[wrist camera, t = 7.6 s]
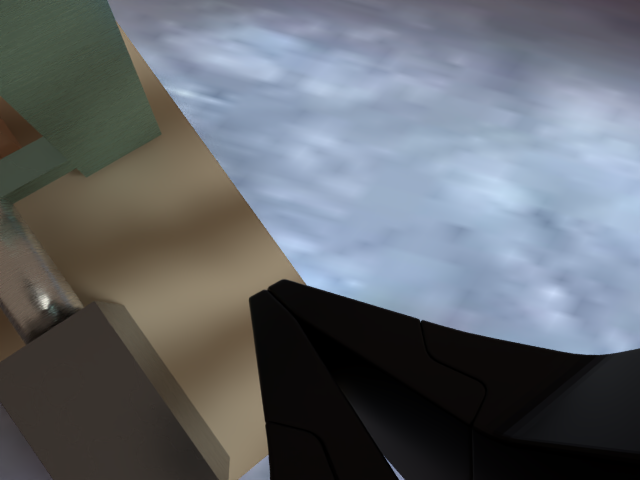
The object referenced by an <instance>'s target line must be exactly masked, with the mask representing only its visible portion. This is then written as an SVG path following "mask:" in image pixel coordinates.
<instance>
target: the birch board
mask: <svg viewBox="0 0 640 480" xmlns="http://www.w3.org/2000/svg"><path fill="white" fill-rule="evenodd" d="M115 21H116V20H115ZM116 23H117V22H116ZM117 26H118V28H119V30H120V33H121V35H122V38H123V40H124V43H125V45H126V48H127V50H128V53H129V55H130V57H131V60H132V62H133V65H134V67H135V70H136V72H137V75H138V77H139V79H140V82H141V84H142V87H143V89H144V92H145V94H146V97H147V99H148V102H149V104H150V106H151V109H152V111H153V114H154V116H155V119H156V121H157V124H158V126H159V129H160V131H161V133H162V135H160V136H158V137H156V138H155V139H153V140H151V141H149V142H148V143H146V144H144V145H142V146H141V147H139V148H137V149H135V150H134V151H132V152H130V153H128V154H127V155H125V156H123V157H121V158H120V159H118V160H116V161H114V162H113V163H111V164H109V165H107V166H106V167H104V168H102V169H101V170H99V171H97V172H95V173H94V174H92V175H90V176H88V177H87V178H86V177H85V176H84V175H83V174H82V173H81V172H80V171H79V170H78V169H77V168H76V169H74V170H73V171H71V172H69V173H67V174H66V175H64V176H62V177H60V178H58V179H57V180H55V181H53V182H51V183H50V184H48V185H46V186H44V187H42V188H41V189H39V190H37V191H35V192H34V193H32V194H30V195H28V196H26V197H25V198H23V199H21V200H19V201H18V202H16V203H14V206H15V207H16V209H17V210H18V212H19V213H20V215H21V216H22V217H23V219H24V220H25V222H26V223H27V225H28V226H29V227H30V229H31V230H32V232H33V233H34V235H35V236H36V238H37V239H38V240H39V242H40V243H41V245H42V246H43V248H44V249H45V251H46V252H47V253H48V255H49V256H50V258H51V259H52V261H53V262H54V263H55V265H56V266H57V268H58V269H59V271H60V272H61V274H62V275H63V276H64V278H65V279H66V281H67V282H68V284H69V285H70V287H71V288H72V289H73V291H74V292H75V294H76V295H77V297H78V298H79V299H80V301H81V302H82V304H83V305H84V307H86V306H87V305H89V304H90V303H92V302H93V301H99V302H106V303H113V304H120V305H124V306H125V308H126V309H127V311H128V312H129V313H130V315H131V316H132V318H133V319H134V321H135V322H136V323H137V325H138V326H139V328H140V329H141V331H142V332H143V333H144V335H145V336H146V338H147V339H148V341H149V342H150V343H151V345H152V346H153V348H154V349H155V351H156V352H157V353H158V355H159V356H160V358H161V359H162V361H163V362H164V364H165V365H166V366H167V368H168V369H169V371H170V372H171V374H172V375H173V376H174V378H175V379H176V381H177V382H178V384H179V385H180V386H181V388H182V389H183V391H184V392H185V394H186V395H187V396H188V398H189V399H190V401H191V402H192V404H193V405H194V406H195V408H196V409H197V411H198V412H199V414H200V415H201V416H202V418H203V419H204V421H205V422H206V424H207V425H208V426H209V428H210V429H211V431H212V432H213V434H214V435H215V436H216V438H217V439H218V441H219V442H220V444H221V445H222V446H223V448H224V449H225V451H226V452H227V454H228V455H229V456H230V464H229V480H238V479H239V478H240V477H242V476H243V475H244V474H245V473H246V472H248V471H249V470H250V469H251V468H252V467H254V466H255V465H256V464H257V463H258V462H260V461H261V460H262V459H263V458H264V457H266V456H267V455H268V444H267V436H266V429H265V424H266V423H265V419H264V412H263V404H262V397H261V389H260V382H259V374H258V367H257V360H256V352H255V345H254V337H253V330H252V322H251V315H250V307H249V298H250V297H251V296H252V295H254V294H256V293H258V292H260V291H261V290H264V289H265V290H267V289H268V287H269V286H270V285H272V284H274V283H276V282H278V281H280V280H282V279H287V280H290V281H294V282H297V283H300V284H304V285H306V284H305V282H304V281H303V280H302V278H301V277H300V275H299V274H298V273H297V271H296V270H295V269H294V267H293V266H292V264H291V263H290V262H289V260H288V259H287V257H286V256H285V255H284V253H283V252H282V251H281V249H280V248H279V246H278V245H277V244H276V242H275V241H274V239H273V238H272V237H271V235H270V234H269V232H268V231H267V230H266V228H265V227H264V226H263V224H262V223H261V221H260V220H259V219H258V217H257V216H256V214H255V213H254V212H253V210H252V209H251V208H250V206H249V205H248V203H247V202H246V201H245V199H244V198H243V196H242V195H241V194H240V192H239V191H238V190H237V188H236V187H235V185H234V184H233V183H232V181H231V180H230V178H229V177H228V176H227V174H226V173H225V171H224V170H223V169H222V167H221V166H220V165H219V163H218V162H217V160H216V159H215V158H214V156H213V155H212V153H211V152H210V151H209V149H208V148H207V147H206V145H205V144H204V142H203V141H202V140H201V138H200V137H199V135H198V134H197V133H196V131H195V130H194V128H193V127H192V126H191V124H190V123H189V122H188V120H187V119H186V117H185V116H184V115H183V113H182V112H181V110H180V109H179V108H178V106H177V105H176V104H175V102H174V101H173V99H172V98H171V97H170V95H169V94H168V92H167V91H166V90H165V88H164V87H163V86H162V84H161V83H160V81H159V80H158V79H157V77H156V76H155V74H154V73H153V72H152V70H151V69H150V67H149V66H148V65H147V63H146V62H145V61H144V59H143V58H142V56H141V55H140V54H139V52H138V51H137V49H136V48H135V47H134V45H133V44H132V43H131V41H130V40H129V38H128V37H127V36H126V34H125V33H124V31H123V30H122V29H121V27H120V26H119V25H118V23H117ZM0 117H1V118H2V120H3V121H4V123H5V124H6V125H7V127H8V128H9V130H10V131H11V133H12V134H13V135H14V137H15V138H16V140H17V141H18V143H19V144H20V145H21V147H22V148H23V147H24V146H26V145H28V144H30V143H32V142H34V141H36V140H38V139H39V138H41V137H43V136H42V135H41V134H40V133H39V132H38V131H37V130H36V129H35V128H34V127H33V126H32V125H31V124H29V123H28V122H27V121H26V120H25V119H24V118H23V117H22V116H21V115H20V114H19V113H18V112H17V111H16V110H15V109H14V108H13V107H12V106H11V105H10V104H8V103H7V102H6V101H5V100H4V99H3V98H2V97H1V96H0ZM24 346H26V345H25V343H24V342H23V340H22V339H21V337H20V336H19V334H18V333H17V332H16V330H15V329H14V327H13V326H12V324H11V323H10V321H9V320H8V318H7V317H6V315H5V314H4V313H3V311H2V310H1V308H0V362H1V361H3V360H4V359H6V358H7V357H9V356H10V355H12V354H13V353H15V352H16V351H18V350H19V349H21V348H23V347H24Z"/></svg>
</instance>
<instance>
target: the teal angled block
mask: <svg viewBox="0 0 640 480" xmlns="http://www.w3.org/2000/svg"><path fill="white" fill-rule="evenodd" d="M0 96H1V97H2V98H3V99H4V100H5V101H6V102H7V103H8V104H10V105H11V106H12V107H13V108H14V109H15V110H16V111H17V112H18V113H19V114H20V115H21V116H22V117H23V118H24V119H25V120H26V121H27V122H28V123H29V124H31V125H32V126H33V127H34V128H35V129H36V130H37V131H38V132H39V133H40V134H41V135H42V136H43V137H41V138H39V139H38V140H36V141H34V142H32V143H30V144H28V145H26V146H24V147H23V148H21V149H19V150H17V151H15V152H13V153H11V154H9V155H8V156H6V157H4V158H2V159H0V308H1V310H2V311H3V313H4V314H5V315H6V317H7V318H8V320H9V321H10V323H11V324H12V326H13V327H14V329H15V330H16V332H17V333H18V334H19V336H20V337H21V339H22V340H23V342H24V343H25V345H27V344H29V343H30V342H32V341H33V340H35V339H36V338H38V337H39V336H41V335H43V334H44V333H46V332H47V331H49V330H50V329H52V328H53V327H55V326H56V325H58V324H59V323H61V322H62V321H64V320H66V319H67V318H69V317H70V316H72V315H73V314H75V313H76V312H78V311H79V310H81V309H82V308H84V305H83V304H82V302H81V301H80V299H79V298H78V297H77V295H76V294H75V292H74V291H73V289H72V288H71V287H70V285H69V284H68V282H67V281H66V279H65V278H64V276H63V275H62V274H61V272H60V271H59V269H58V268H57V266H56V265H55V263H54V262H53V261H52V259H51V258H50V256H49V255H48V253H47V252H46V251H45V249H44V248H43V246H42V245H41V243H40V242H39V240H38V239H37V238H36V236H35V235H34V233H33V232H32V230H31V229H30V227H29V226H28V225H27V223H26V222H25V220H24V219H23V217H22V216H21V215H20V213H19V212H18V210H17V209H16V207H15V206H14V203H16V202H18V201H19V200H21V199H23V198H25V197H26V196H28V195H30V194H32V193H34V192H35V191H37V190H39V189H41V188H42V187H44V186H46V185H48V184H50V183H51V182H53V181H55V180H57V179H58V178H60V177H62V176H64V175H66V174H67V173H69V172H71V171H73V170H74V169H76V168H77V169H78V170H79V171H80V172H81V173H82V174H83V175H84V176H85V177H86V178H87V177H88V176H90V175H92V174H94V173H95V172H97V171H99V170H101V169H102V168H104V167H106V166H107V165H109V164H111V163H113V162H114V161H116V160H118V159H120V158H121V157H123V156H125V155H127V154H128V153H130V152H132V151H134V150H135V149H137V148H139V147H141V146H142V145H144V144H146V143H148V142H149V141H151V140H153V139H155V138H156V137H158V136H160V135H162V133H161V131H160V129H159V126H158V124H157V121H156V119H155V116H154V114H153V111H152V109H151V106H150V104H149V102H148V99H147V97H146V94H145V92H144V89H143V87H142V84H141V82H140V79H139V77H138V75H137V72H136V70H135V67H134V65H133V62H132V60H131V57H130V55H129V53H128V50H127V48H126V45H125V43H124V40H123V38H122V35H121V33H120V30H119V28H118V26H117V23H116V21H115V18H114V16H113V13H112V11H111V8H110V6H109V3H108V1H107V0H0Z"/></svg>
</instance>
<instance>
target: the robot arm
mask: <svg viewBox="0 0 640 480" xmlns="http://www.w3.org/2000/svg"><path fill="white" fill-rule="evenodd" d="M249 307H250V315H251V322H252V330H253V337H254V345H255V352H256V360H257V367H258V374H259V382H260V389H261V397H262V404H263V412H264V419H265V423H266V424H265V429H266V436H267V444H268V455H269V465H270V480H399V479H398V477H397V476H396V474H395V473H394V471H393V470H392V468H391V466H390V465H389V463H388V462H387V460H388V461H389V462H390V463H391V464H392V465H393V467H394V468H395V469H396V470H397V471H398V472H399V473H400V475H401V476H402V477H403V478H404V479H405V480H640V349H634V350H629V351H624V352H619V353H613V354H605V355H583V354H573V353H567V352H561V351H556V350H551V349H546V348H541V347H536V346H530V345H525V344H520V343H515V342H510V341H505V340H500V339H495V338H490V337H486V336H481V335H477V334H472V333H468V332H464V331H460V330H456V329H453V328H449V327H445V326H441V325H438V324H435V323H431V322H428V321H425V320H422V321H421V323H420V320H419V319H417V318H414V317H411V316H407V315H404V314H401V313H397V312H394V311H391V310H387V309H384V308H381V307H377V306H374V305H371V304H367V303H364V302H361V301H357V300H354V299H351V298H347V297H344V296H340V295H337V294H334V293H330V292H327V291H324V290H320V289H317V288H314V287H310V286H307V285H304V284H300V283H297V282H294V281H290V280H287V279H282V280H280V281H278V282H276V283H274V284H272V285H270V286H269V287H268V289H267V290H265V289H264V290H261V291H260V292H258V293H256V294H254V295H252V296H251V297H250V298H249ZM384 456H385V457H386V459H387V460H386V459H385V457H384Z"/></svg>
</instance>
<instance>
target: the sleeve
mask: <svg viewBox="0 0 640 480" xmlns="http://www.w3.org/2000/svg"><path fill="white" fill-rule="evenodd" d="M0 402H1V403H2V405H3V406H4V408H5V409H6V411H7V412H8V413H9V415H10V416H11V418H12V419H13V421H14V422H15V424H16V425H17V427H18V428H19V430H20V431H21V433H22V434H23V436H24V437H25V439H26V440H27V442H28V443H29V444H30V446H31V447H32V449H33V450H34V452H35V453H36V455H37V456H38V458H39V459H40V461H41V462H42V464H43V465H44V467H45V468H46V470H47V471H48V473H49V474H50V475H51V477H52V478H53V480H229V464H230V456H229V455H228V454H227V452H226V451H225V449H224V448H223V446H222V445H221V444H220V442H219V441H218V439H217V438H216V436H215V435H214V434H213V432H212V431H211V429H210V428H209V426H208V425H207V424H206V422H205V421H204V419H203V418H202V416H201V415H200V414H199V412H198V411H197V409H196V408H195V406H194V405H193V404H192V402H191V401H190V399H189V398H188V396H187V395H186V394H185V392H184V391H183V389H182V388H181V386H180V385H179V384H178V382H177V381H176V379H175V378H174V376H173V375H172V374H171V372H170V371H169V369H168V368H167V366H166V365H165V364H164V362H163V361H162V359H161V358H160V356H159V355H158V353H157V352H156V351H155V349H154V348H153V346H152V345H151V343H150V342H149V341H148V339H147V338H146V336H145V335H144V333H143V332H142V331H141V329H140V328H139V326H138V325H137V323H136V322H135V321H134V319H133V318H132V316H131V315H130V313H129V312H128V311H127V309H126V308H125V306H124V305H120V304H113V303H106V302H99V301H93V302H92V303H90V304H89V305H87V306H86V307H84V308H82V309H81V310H79V311H78V312H76V313H75V314H73V315H72V316H70V317H69V318H67V319H66V320H64V321H62V322H61V323H59V324H58V325H56V326H55V327H53V328H52V329H50V330H49V331H47V332H46V333H44V334H43V335H41V336H39V337H38V338H36V339H35V340H33V341H32V342H30V343H29V344H27V345H26V346H24V347H23V348H21V349H19V350H18V351H16V352H15V353H13V354H12V355H10V356H9V357H7V358H6V359H4V360H3V361H1V362H0Z"/></svg>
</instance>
